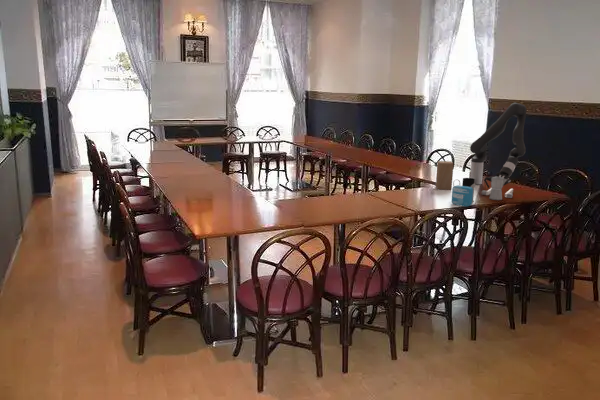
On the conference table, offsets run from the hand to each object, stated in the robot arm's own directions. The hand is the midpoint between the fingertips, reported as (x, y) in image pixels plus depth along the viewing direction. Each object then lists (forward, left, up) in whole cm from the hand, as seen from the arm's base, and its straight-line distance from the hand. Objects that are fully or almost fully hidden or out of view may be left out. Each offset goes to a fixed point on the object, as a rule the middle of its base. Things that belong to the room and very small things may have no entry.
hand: (496, 189), depth 338 cm
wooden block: (-39, +11, -6) cm, 41 cm away
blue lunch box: (-16, -22, -6) cm, 28 cm away
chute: (0, +16, -6) cm, 17 cm away
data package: (-14, -36, -6) cm, 39 cm away
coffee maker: (0, -4, -6) cm, 7 cm away
